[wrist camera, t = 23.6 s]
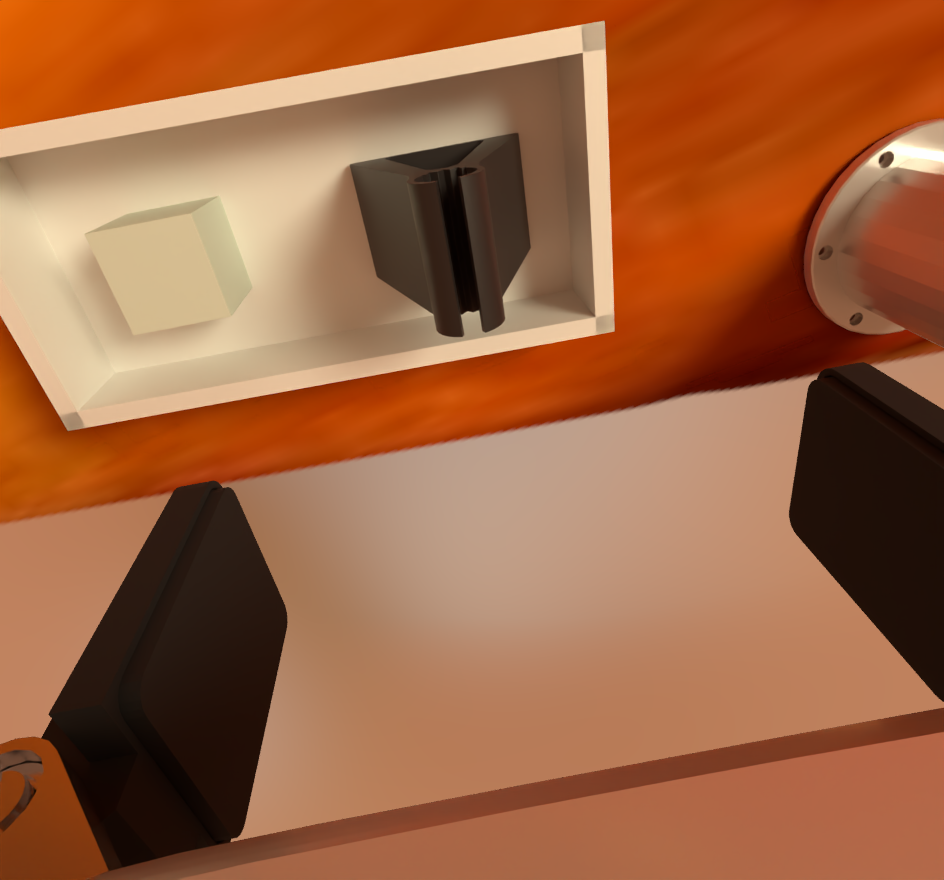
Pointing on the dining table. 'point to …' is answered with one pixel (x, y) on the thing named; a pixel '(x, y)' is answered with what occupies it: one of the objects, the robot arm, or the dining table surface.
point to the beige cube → (172, 265)
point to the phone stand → (448, 226)
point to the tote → (302, 224)
